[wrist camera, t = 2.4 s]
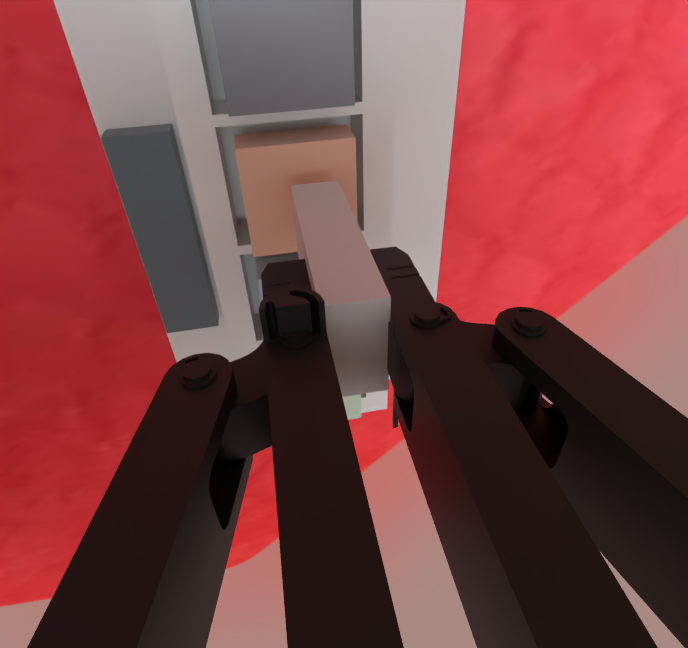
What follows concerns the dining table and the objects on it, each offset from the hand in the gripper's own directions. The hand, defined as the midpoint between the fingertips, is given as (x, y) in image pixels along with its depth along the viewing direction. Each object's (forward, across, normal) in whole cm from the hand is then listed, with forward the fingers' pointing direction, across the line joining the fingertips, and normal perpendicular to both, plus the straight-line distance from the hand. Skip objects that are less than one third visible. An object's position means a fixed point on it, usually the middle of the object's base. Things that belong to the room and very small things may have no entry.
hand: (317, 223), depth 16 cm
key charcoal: (+4, 0, +5) cm, 7 cm away
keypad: (+6, 0, -2) cm, 7 cm away
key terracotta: (+4, 0, 0) cm, 4 cm away
